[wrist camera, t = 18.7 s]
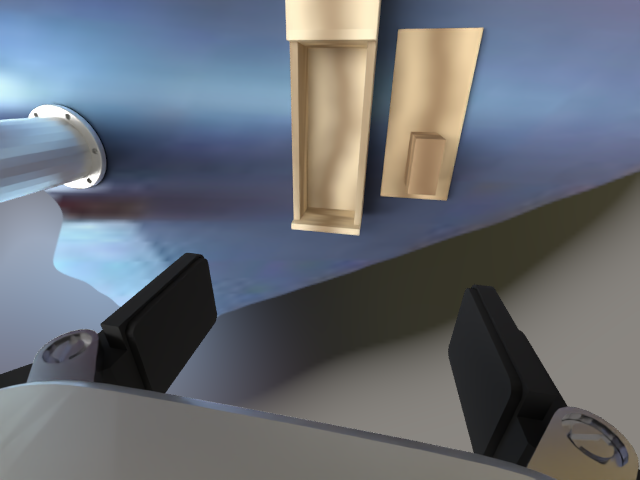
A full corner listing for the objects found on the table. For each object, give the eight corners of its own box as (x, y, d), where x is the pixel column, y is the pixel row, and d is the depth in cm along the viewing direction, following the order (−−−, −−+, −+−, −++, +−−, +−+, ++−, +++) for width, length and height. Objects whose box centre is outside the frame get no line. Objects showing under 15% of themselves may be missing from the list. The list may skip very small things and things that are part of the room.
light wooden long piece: (304, 209, 44) (291, 229, 38) (303, -25, 32) (284, -54, 26) (362, 214, 43) (359, 235, 37) (383, -29, 31) (384, -60, 25)
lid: (380, 193, 42) (380, 211, 35) (397, 31, 33) (402, 17, 27) (444, 197, 40) (456, 217, 34) (480, 29, 32) (504, 14, 26)
